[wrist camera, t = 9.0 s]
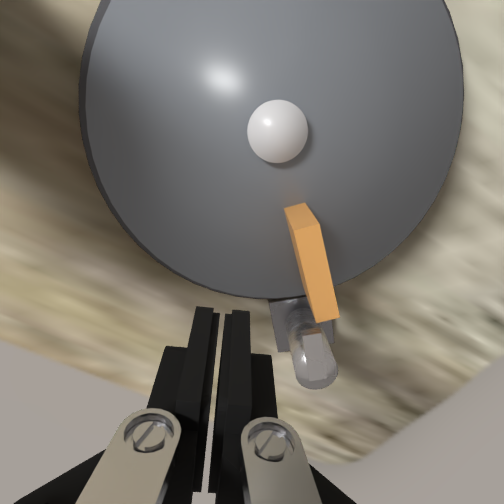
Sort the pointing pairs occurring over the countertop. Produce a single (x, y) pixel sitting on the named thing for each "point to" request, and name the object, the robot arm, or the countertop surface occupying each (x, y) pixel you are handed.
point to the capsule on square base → (304, 341)
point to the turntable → (274, 134)
